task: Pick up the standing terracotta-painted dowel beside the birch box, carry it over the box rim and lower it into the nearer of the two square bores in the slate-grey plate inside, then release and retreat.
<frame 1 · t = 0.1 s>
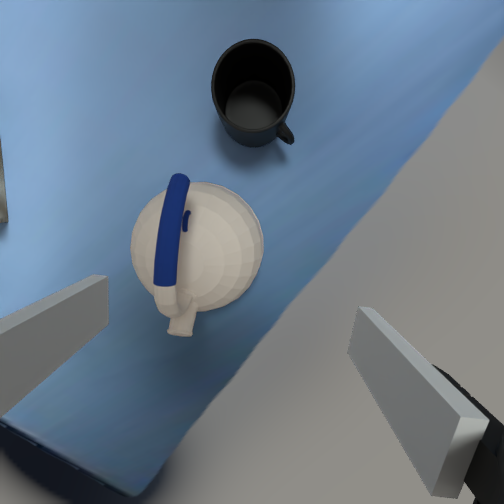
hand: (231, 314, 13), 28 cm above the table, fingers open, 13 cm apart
mug: (260, 120, 37), on the table
kettle: (202, 245, 41), on the table
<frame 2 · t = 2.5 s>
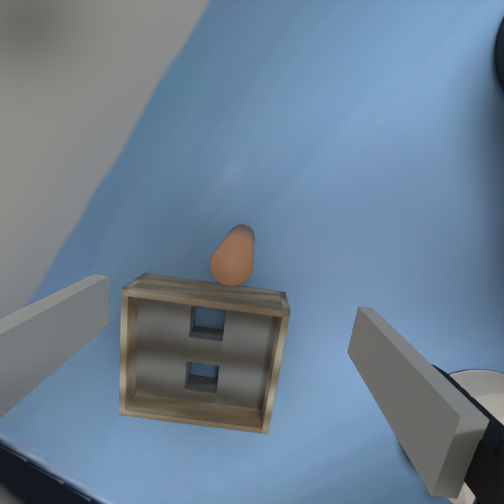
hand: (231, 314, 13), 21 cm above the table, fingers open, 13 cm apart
box: (208, 339, 37), on the table
peg: (241, 237, 33), on the table
kettle: (463, 422, 40), on the table
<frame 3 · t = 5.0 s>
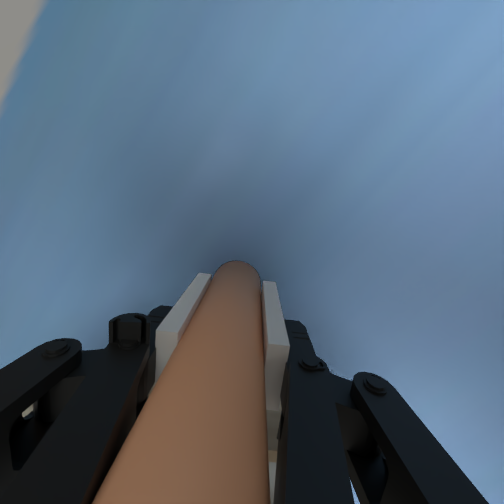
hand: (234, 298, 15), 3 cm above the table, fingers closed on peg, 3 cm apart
box: (184, 454, 21), on the table
peg: (236, 283, 18), on the table, touching gripper
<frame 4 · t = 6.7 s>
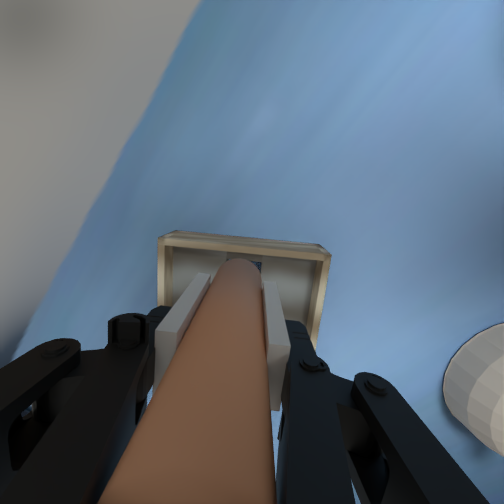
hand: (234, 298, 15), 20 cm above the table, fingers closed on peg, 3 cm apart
box: (241, 297, 36), on the table
peg: (238, 280, 18), point 16 cm above the table, touching gripper
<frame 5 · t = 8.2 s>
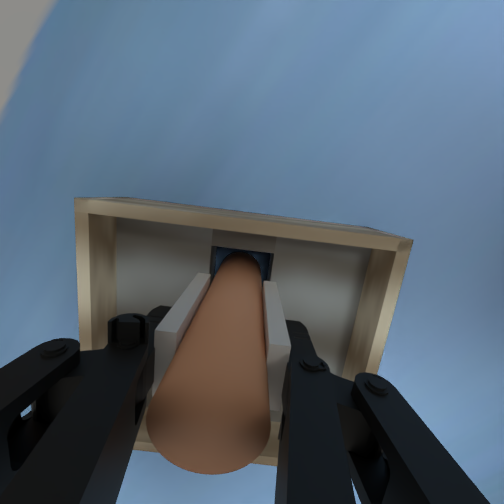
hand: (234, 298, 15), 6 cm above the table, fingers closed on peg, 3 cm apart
box: (236, 312, 22), on the table
peg: (240, 272, 20), point 1 cm above the table, touching gripper
when the fingers open (5 cm above the table, at t = 8.7 s): peg stays where it is, resting in box.
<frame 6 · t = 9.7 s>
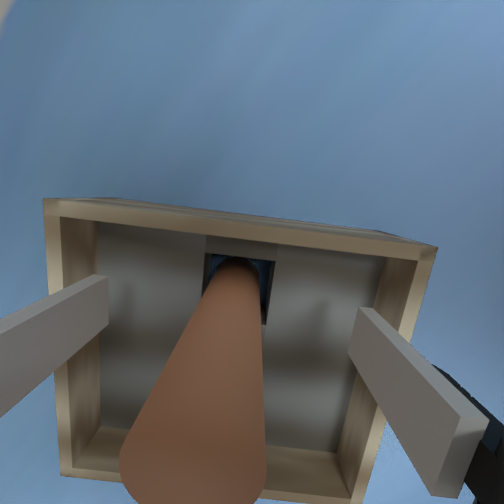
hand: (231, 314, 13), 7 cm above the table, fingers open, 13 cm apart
box: (233, 324, 20), on the table
peg: (237, 277, 19), resting in box
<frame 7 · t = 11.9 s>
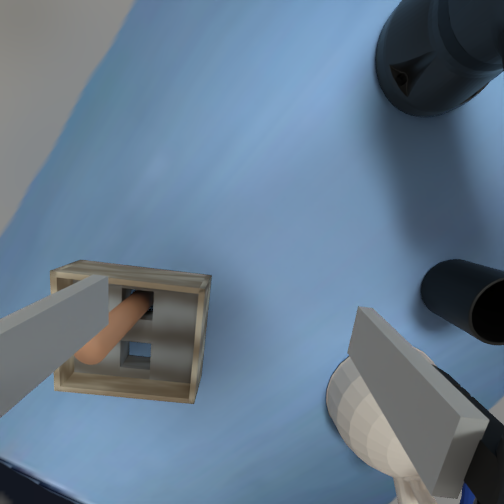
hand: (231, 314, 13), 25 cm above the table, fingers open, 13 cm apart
mug: (452, 291, 40), on the table
box: (144, 320, 40), on the table
peg: (144, 297, 39), resting in box
kettle: (381, 392, 44), on the table
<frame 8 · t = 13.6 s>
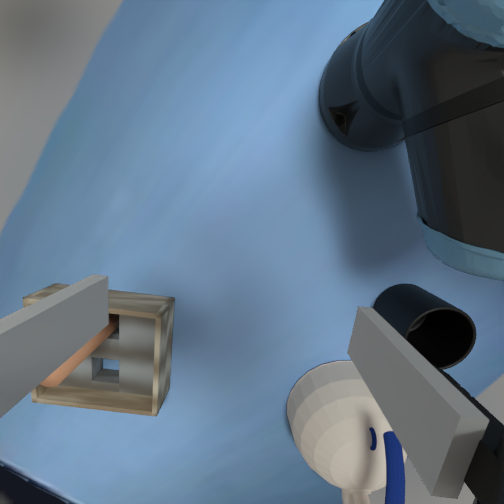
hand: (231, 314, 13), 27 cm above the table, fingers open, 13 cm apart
mug: (405, 313, 42), on the table
box: (115, 338, 43), on the table
peg: (114, 317, 42), resting in box
kettle: (340, 406, 46), on the table
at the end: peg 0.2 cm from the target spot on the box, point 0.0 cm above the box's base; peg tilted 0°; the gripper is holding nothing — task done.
